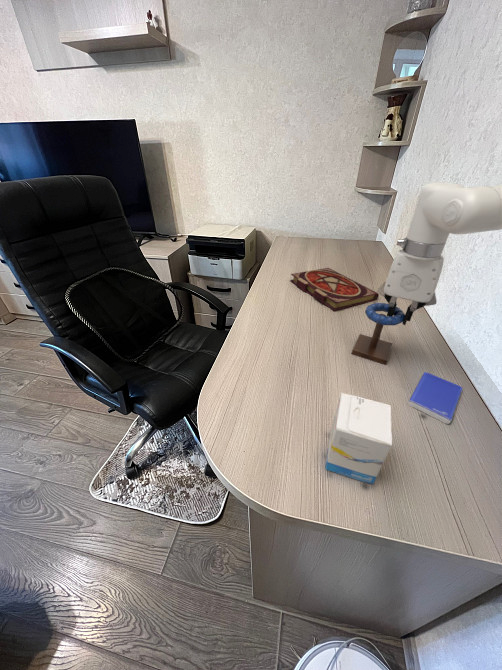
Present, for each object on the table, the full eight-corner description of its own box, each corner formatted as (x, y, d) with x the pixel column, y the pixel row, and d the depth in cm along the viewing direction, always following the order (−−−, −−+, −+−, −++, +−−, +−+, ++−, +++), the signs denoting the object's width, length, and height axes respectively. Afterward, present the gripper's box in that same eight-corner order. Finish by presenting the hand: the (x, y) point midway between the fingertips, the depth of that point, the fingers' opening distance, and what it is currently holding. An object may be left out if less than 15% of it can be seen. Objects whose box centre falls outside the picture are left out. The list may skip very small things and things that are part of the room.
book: (377, 301, 103) (380, 288, 101) (332, 312, 96) (335, 299, 93) (328, 274, 124) (330, 263, 122) (288, 281, 116) (289, 270, 114)
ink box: (374, 486, 47) (394, 445, 41) (323, 469, 50) (335, 428, 43) (374, 444, 54) (391, 403, 47) (330, 431, 56) (340, 390, 50)
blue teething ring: (405, 314, 73) (407, 306, 72) (400, 330, 66) (403, 323, 65) (368, 305, 77) (370, 298, 75) (361, 320, 70) (363, 313, 69)
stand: (391, 347, 79) (403, 312, 73) (385, 365, 73) (399, 328, 66) (359, 337, 83) (368, 304, 77) (351, 354, 77) (360, 318, 70)
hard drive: (451, 419, 57) (463, 387, 64) (409, 399, 61) (424, 371, 69) (448, 424, 58) (460, 391, 65) (407, 404, 62) (422, 375, 70)
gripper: (379, 246, 60) (360, 318, 71) (468, 259, 54) (432, 337, 64) (385, 238, 66) (367, 306, 76) (466, 249, 59) (434, 322, 69)
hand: (397, 320), depth 70 cm, fingers closed on blue teething ring, 2 cm apart
